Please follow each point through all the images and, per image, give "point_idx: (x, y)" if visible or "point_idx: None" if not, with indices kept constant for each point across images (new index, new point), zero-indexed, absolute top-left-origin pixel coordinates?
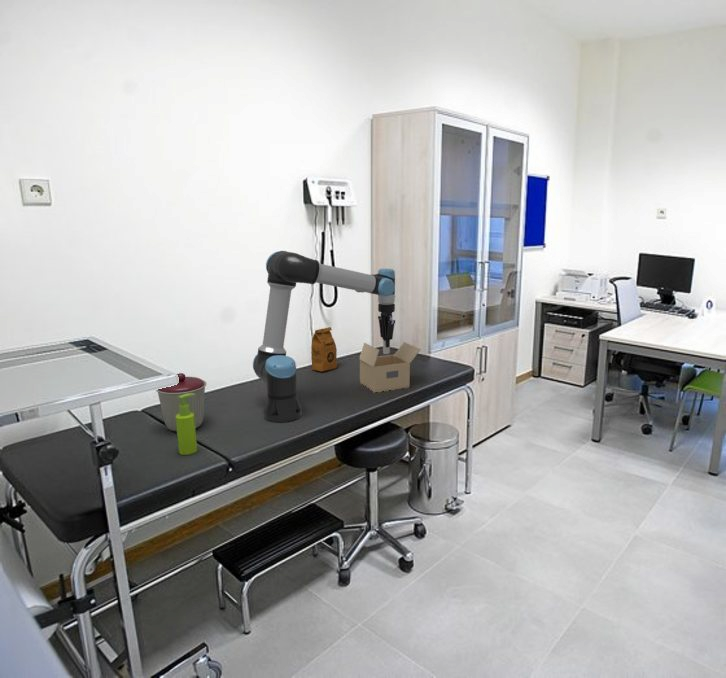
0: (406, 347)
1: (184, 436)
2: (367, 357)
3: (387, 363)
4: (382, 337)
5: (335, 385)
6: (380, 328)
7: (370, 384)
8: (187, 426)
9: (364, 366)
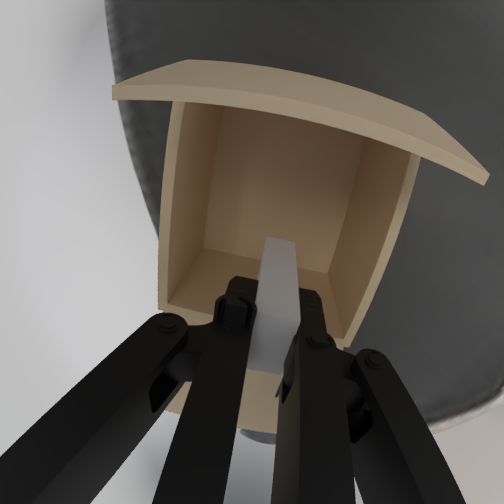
0: (272, 409)
1: None
2: (312, 81)
3: (348, 285)
4: (328, 346)
5: (403, 37)
6: (418, 456)
7: None
8: None
9: None
